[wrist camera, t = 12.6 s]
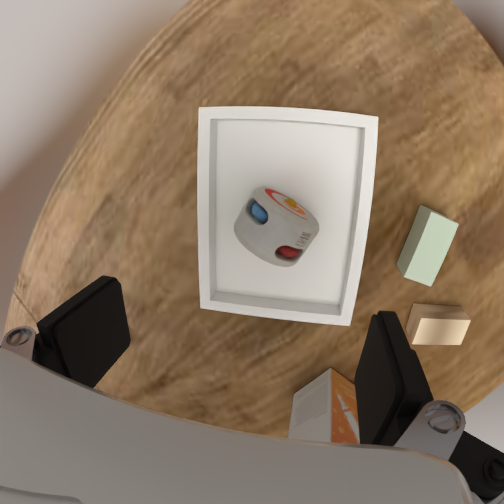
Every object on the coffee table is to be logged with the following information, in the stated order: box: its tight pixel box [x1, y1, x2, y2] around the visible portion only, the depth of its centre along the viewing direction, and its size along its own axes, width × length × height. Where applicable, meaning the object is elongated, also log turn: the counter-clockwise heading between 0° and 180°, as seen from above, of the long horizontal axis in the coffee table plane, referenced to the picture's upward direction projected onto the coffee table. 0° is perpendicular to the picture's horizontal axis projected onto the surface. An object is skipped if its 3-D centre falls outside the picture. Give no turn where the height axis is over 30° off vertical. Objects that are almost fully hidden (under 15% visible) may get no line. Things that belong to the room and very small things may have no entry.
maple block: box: [406, 303, 471, 345], centre depth 25 cm, size 6×3×3 cm, turn 88°
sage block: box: [396, 205, 459, 286], centre depth 23 cm, size 6×3×3 cm, turn 165°
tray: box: [197, 106, 378, 326], centre depth 25 cm, size 18×14×2 cm
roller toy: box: [234, 187, 319, 267], centre depth 23 cm, size 4×6×6 cm
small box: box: [288, 368, 360, 444], centre depth 26 cm, size 8×6×13 cm
